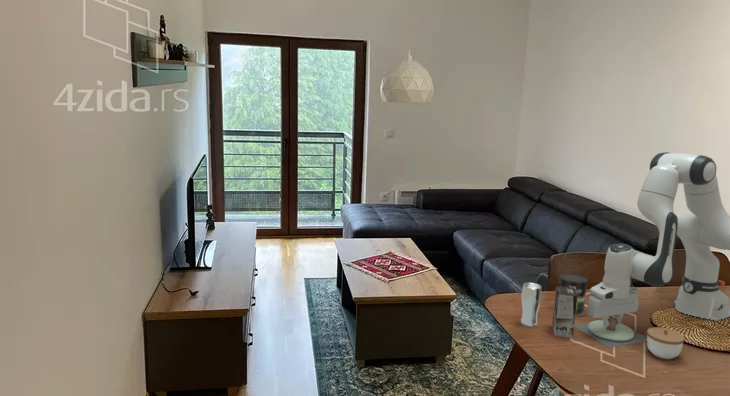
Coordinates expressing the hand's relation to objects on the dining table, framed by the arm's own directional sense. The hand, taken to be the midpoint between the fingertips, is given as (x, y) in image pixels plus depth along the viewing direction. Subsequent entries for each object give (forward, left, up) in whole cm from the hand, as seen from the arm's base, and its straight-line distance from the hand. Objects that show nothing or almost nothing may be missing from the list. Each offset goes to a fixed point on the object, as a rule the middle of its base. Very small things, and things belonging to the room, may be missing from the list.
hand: (611, 325), depth 191 cm
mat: (0, 0, -3) cm, 3 cm away
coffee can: (0, -21, -4) cm, 21 cm away
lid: (0, 0, -2) cm, 2 cm away
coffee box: (+16, -6, -4) cm, 18 cm away
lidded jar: (-5, +18, -4) cm, 19 cm away
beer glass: (+23, -16, -4) cm, 28 cm away
